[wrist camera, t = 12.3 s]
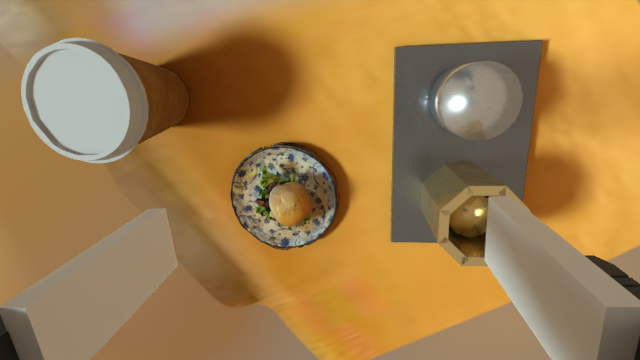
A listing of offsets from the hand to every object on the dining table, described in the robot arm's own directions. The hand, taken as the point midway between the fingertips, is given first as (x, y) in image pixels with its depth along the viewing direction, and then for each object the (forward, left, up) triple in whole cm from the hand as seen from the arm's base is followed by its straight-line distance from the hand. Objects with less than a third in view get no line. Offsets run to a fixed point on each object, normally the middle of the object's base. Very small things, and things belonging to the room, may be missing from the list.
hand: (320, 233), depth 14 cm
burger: (+6, -6, -24) cm, 26 cm away
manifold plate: (+1, +12, -24) cm, 26 cm away
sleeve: (+6, +12, -23) cm, 26 cm away
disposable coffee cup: (-5, -19, -24) cm, 31 cm away
